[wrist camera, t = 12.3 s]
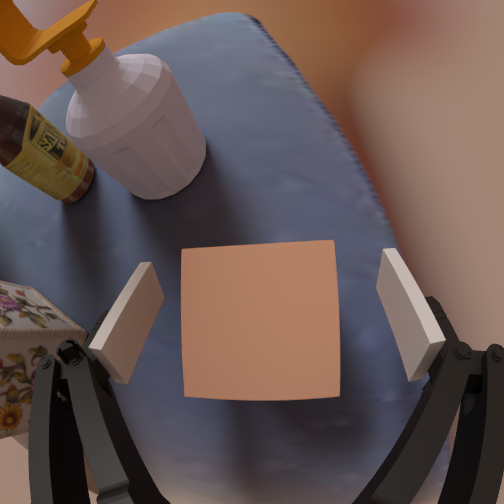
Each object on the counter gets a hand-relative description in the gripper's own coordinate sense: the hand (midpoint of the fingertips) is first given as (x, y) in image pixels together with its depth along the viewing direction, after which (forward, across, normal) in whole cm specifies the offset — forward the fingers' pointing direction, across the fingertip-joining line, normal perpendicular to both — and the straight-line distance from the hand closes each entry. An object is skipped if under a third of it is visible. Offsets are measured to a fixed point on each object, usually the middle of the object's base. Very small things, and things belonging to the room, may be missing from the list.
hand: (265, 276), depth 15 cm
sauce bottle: (+14, -22, +4) cm, 26 cm away
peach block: (+2, 0, -6) cm, 6 cm away
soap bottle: (+13, -10, +4) cm, 17 cm away
